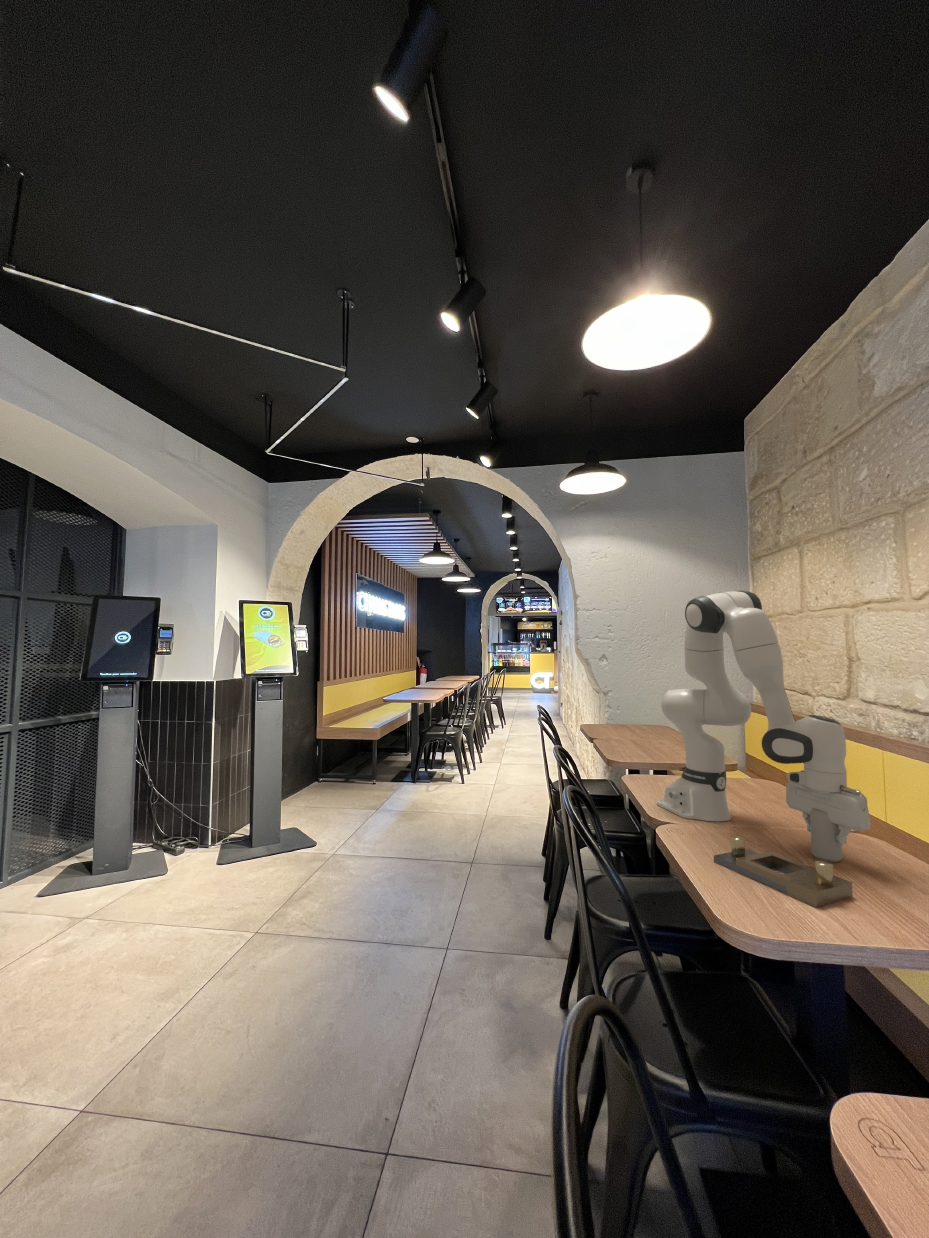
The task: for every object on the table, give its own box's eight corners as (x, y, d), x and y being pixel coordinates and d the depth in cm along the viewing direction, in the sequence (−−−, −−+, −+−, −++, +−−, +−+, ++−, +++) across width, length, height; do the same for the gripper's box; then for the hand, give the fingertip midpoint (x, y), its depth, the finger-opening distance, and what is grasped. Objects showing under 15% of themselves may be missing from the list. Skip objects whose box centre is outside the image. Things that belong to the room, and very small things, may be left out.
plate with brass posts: (713, 861, 125) (713, 832, 125) (747, 854, 130) (747, 826, 130) (816, 907, 103) (816, 871, 103) (852, 896, 108) (851, 862, 108)
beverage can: (847, 864, 125) (846, 814, 126) (818, 861, 126) (817, 811, 127) (834, 854, 131) (833, 806, 132) (806, 851, 132) (805, 804, 133)
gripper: (876, 791, 120) (878, 852, 120) (800, 771, 140) (801, 823, 139) (855, 793, 119) (856, 854, 118) (781, 772, 139) (781, 824, 138)
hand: (826, 837), depth 129 cm, fingers closed on beverage can, 6 cm apart
